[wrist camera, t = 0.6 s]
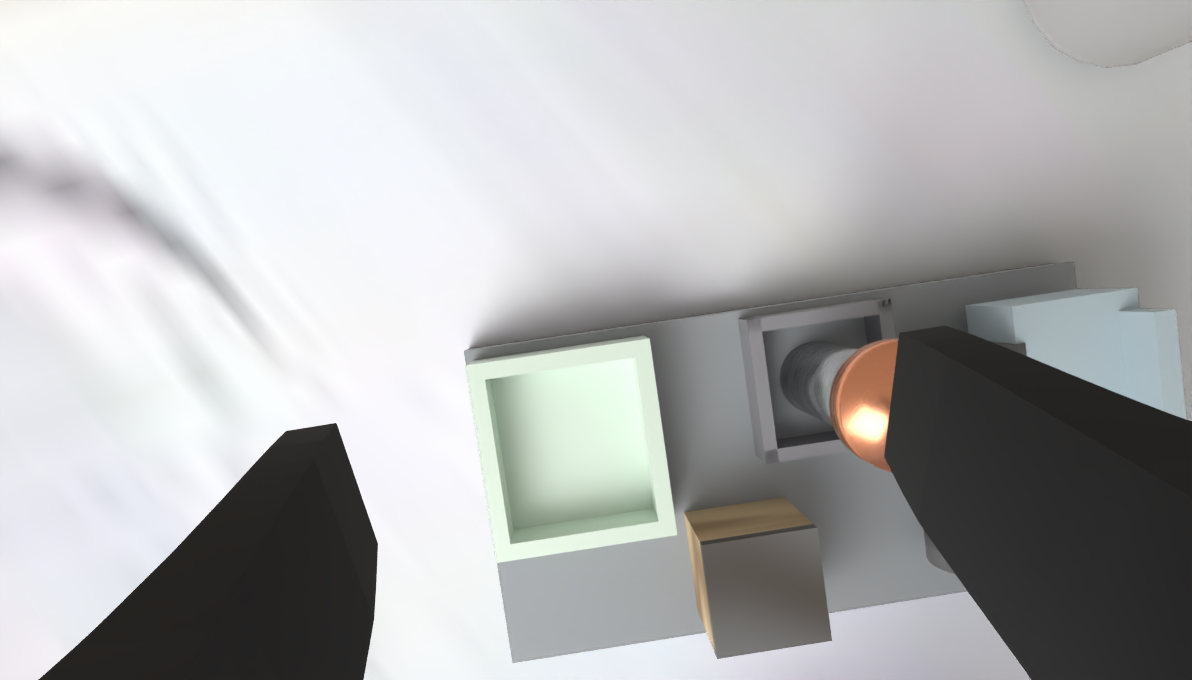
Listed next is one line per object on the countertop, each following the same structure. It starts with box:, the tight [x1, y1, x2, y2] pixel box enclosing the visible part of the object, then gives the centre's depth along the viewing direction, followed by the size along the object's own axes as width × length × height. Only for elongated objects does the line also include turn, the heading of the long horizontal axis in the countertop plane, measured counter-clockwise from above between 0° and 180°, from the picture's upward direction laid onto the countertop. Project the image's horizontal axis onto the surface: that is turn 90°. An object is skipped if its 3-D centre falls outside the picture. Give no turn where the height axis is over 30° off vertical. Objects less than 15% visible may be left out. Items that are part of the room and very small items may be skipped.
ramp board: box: [464, 262, 1077, 663], centre depth 29 cm, size 12×24×3 cm, turn 98°
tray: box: [466, 335, 677, 563], centre depth 28 cm, size 7×7×2 cm
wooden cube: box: [684, 497, 832, 659], centre depth 28 cm, size 4×4×4 cm
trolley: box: [923, 288, 1187, 574], centre depth 27 cm, size 10×7×5 cm
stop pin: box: [779, 339, 898, 472], centre depth 25 cm, size 4×4×8 cm
